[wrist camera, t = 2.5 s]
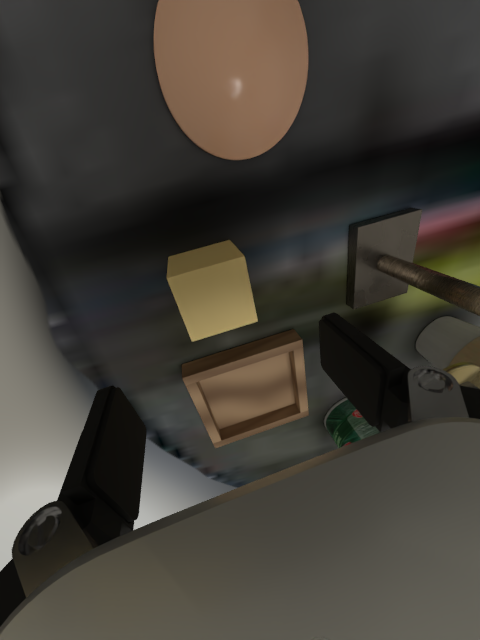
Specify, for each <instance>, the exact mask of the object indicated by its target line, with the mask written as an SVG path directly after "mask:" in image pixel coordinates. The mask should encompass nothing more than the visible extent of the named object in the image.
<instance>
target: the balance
mask: <svg viewBox="0 0 480 640" xmlns="http://www.w3.org/2000/svg"><path fill="white" fill-rule="evenodd" d="M421 214H422V209H415V208H409V209H405V210H402V211H398V212H395V213H391V214H387V215H384V216H380V217H377V218H373V219H370V220H366V221H363V222H359V223H356V224H352V225H349V246H348V275H347V303H346V304H347V305H348V306H350V307H351V308H352V309H357V308H360V307H363V306H366V305H369V304H372V303H375V302H379V301H382V300H385V299H388V298H391V297H394V296H397V295H401V294H404V293H407V290H408V284H409V285H411V286H414V287H416V288H418V289H420V290H423V291H425V292H427V293H429V294H431V295H434V296H436V297H438V298H440V299H443V300H445V301H447V302H449V303H452V304H454V305H456V306H458V307H461V308H463V309H465V310H467V311H469V312H472V313H474V314H476V315H478V316H480V287H479V286H476V285H474V284H471V283H468V282H465V281H462V280H459V279H456V278H454V277H451V276H448V275H445V274H442V273H439V272H437V271H434V270H431V269H428V268H425V267H422V266H419V265H417V264H414V263H412V262H413V257H414V252H415V246H416V241H417V235H418V230H419V224H420V219H421ZM443 370H444V371H446V372H448V373H449V374H451V375H452V376H453V377H454V378H455V379H456V380H457V382H458V383H459V385H461V386H466V387H471V388H476V389H480V367H478V366H476V365H475V364H473V363H470V362H461V363H457V364H453V365H451V366H449V367H446V368H444V369H443Z"/></svg>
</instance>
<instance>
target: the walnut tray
mask: <svg viewBox="0 0 480 640" xmlns="http://www.w3.org/2000/svg"><path fill="white" fill-rule="evenodd" d="M182 379H183V381H184V383H185V385H186V387H187V389H188V391H189V393H190V396H191V398H192V400H193V402H194V404H195V406H196V408H197V410H198V412H199V414H200V417H201V419H202V421H203V423H204V425H205V427H206V429H207V431H208V433H209V436H210V438H211V440H212V442H213V444H214V446H215V448H217V447H220V446H223V445H226V444H229V443H231V442H234V441H237V440H240V439H243V438H246V437H248V436H251V435H254V434H257V433H260V432H263V431H265V430H268V429H271V428H274V427H277V426H280V425H282V424H285V423H288V422H291V421H294V420H296V419H299V418H302V417H305V416H308V415H309V413H308V401H307V390H306V378H305V366H304V355H303V343H302V339H301V337H300V336H299V335H298V334H297V332H296V331H295V330H294V329H292V330H289V331H286V332H282V333H279V334H276V335H273V336H270V337H267V338H264V339H260V340H257V341H254V342H251V343H248V344H245V345H241V346H238V347H235V348H232V349H229V350H226V351H223V352H219V353H216V354H213V355H210V356H207V357H204V358H201V359H197V360H194V361H191V362H188V363H185V364H182Z"/></svg>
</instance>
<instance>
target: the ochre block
mask: <svg viewBox="0 0 480 640" xmlns="http://www.w3.org/2000/svg"><path fill="white" fill-rule="evenodd" d="M167 280H168V283H169V285H170V288H171V290H172V293H173V295H174V298H175V300H176V303H177V305H178V308H179V310H180V313H181V315H182V318H183V320H184V323H185V325H186V328H187V330H188V333H189V335H190V338H191V340H192V342H193V341H196V340H199V339H203V338H206V337H209V336H212V335H216V334H219V333H222V332H225V331H228V330H232V329H235V328H238V327H241V326H244V325H248V324H251V323H254V322H257V321H258V320H257V315H256V310H255V305H254V300H253V295H252V290H251V285H250V280H249V276H248V271H247V266H246V261H245V256H244V255H243V254H242V253H241V252H240V251H239V249H238V248H237V247H236V246H235V245H234V244H233V243H232V242H231V241H230V240H227V241H223V242H220V243H216V244H212V245H209V246H205V247H202V248H198V249H194V250H191V251H187V252H184V253H180V254H176V255H173V256H169V257H168V268H167Z"/></svg>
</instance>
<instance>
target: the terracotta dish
mask: <svg viewBox="0 0 480 640" xmlns="http://www.w3.org/2000/svg"><path fill="white" fill-rule="evenodd" d="M154 55H155V63H156V70H157V75H158V79H159V83H160V87H161V90H162V93H163V96H164V99H165V101H166V104H167V106H168V108H169V110H170V112H171V114H172V116H173V117H174V119H175V121H176V123H177V124H178V125H179V127H180V128H181V130H182V131H183V132H184V133H185V134H186V135H187V137H188V138H189V139H190V140H191V141H192V142H193V143H195V144H196V145H197V146H198V147H200V148H201V149H202V150H204V151H205V152H207V153H209V154H211V155H213V156H216V157H219V158H222V159H227V160H244V159H249V158H252V157H255V156H258V155H260V154H262V153H264V152H266V151H268V150H269V149H270V148H272V147H273V146H274V145H275V144H276V143H278V142H279V141H280V140H281V138H282V137H283V136H284V135H285V134H286V132H287V131H288V129H289V128H290V126H291V125H292V123H293V121H294V119H295V117H296V115H297V113H298V111H299V108H300V105H301V103H302V99H303V96H304V92H305V87H306V81H307V74H308V41H307V33H306V27H305V22H304V18H303V15H302V11H301V8H300V5H299V2H298V0H159V1H158V5H157V10H156V16H155V22H154Z"/></svg>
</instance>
